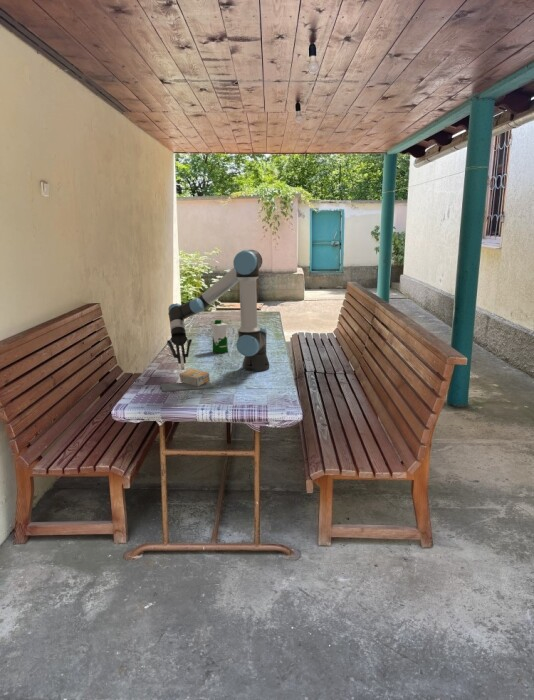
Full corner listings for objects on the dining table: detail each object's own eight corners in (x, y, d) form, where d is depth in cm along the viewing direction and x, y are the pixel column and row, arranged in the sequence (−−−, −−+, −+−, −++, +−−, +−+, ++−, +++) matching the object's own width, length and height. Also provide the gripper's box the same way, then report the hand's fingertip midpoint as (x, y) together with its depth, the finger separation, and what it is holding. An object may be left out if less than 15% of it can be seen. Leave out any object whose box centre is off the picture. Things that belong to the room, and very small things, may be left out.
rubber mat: (208, 381, 266) (208, 380, 266) (213, 388, 255) (213, 387, 255) (160, 385, 260) (160, 384, 259) (162, 392, 248) (162, 390, 248)
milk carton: (222, 350, 339) (222, 319, 335) (230, 352, 332) (229, 321, 327) (210, 351, 334) (210, 320, 330) (218, 354, 327) (217, 322, 322)
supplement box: (190, 367, 268) (209, 372, 260) (192, 376, 269) (210, 381, 261) (178, 373, 262) (197, 377, 254) (180, 382, 263) (198, 386, 255)
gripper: (189, 333, 283) (195, 371, 271) (165, 334, 279) (169, 373, 267) (190, 325, 277) (196, 363, 265) (165, 326, 273) (170, 365, 261)
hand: (182, 368), depth 266 cm, fingers closed
